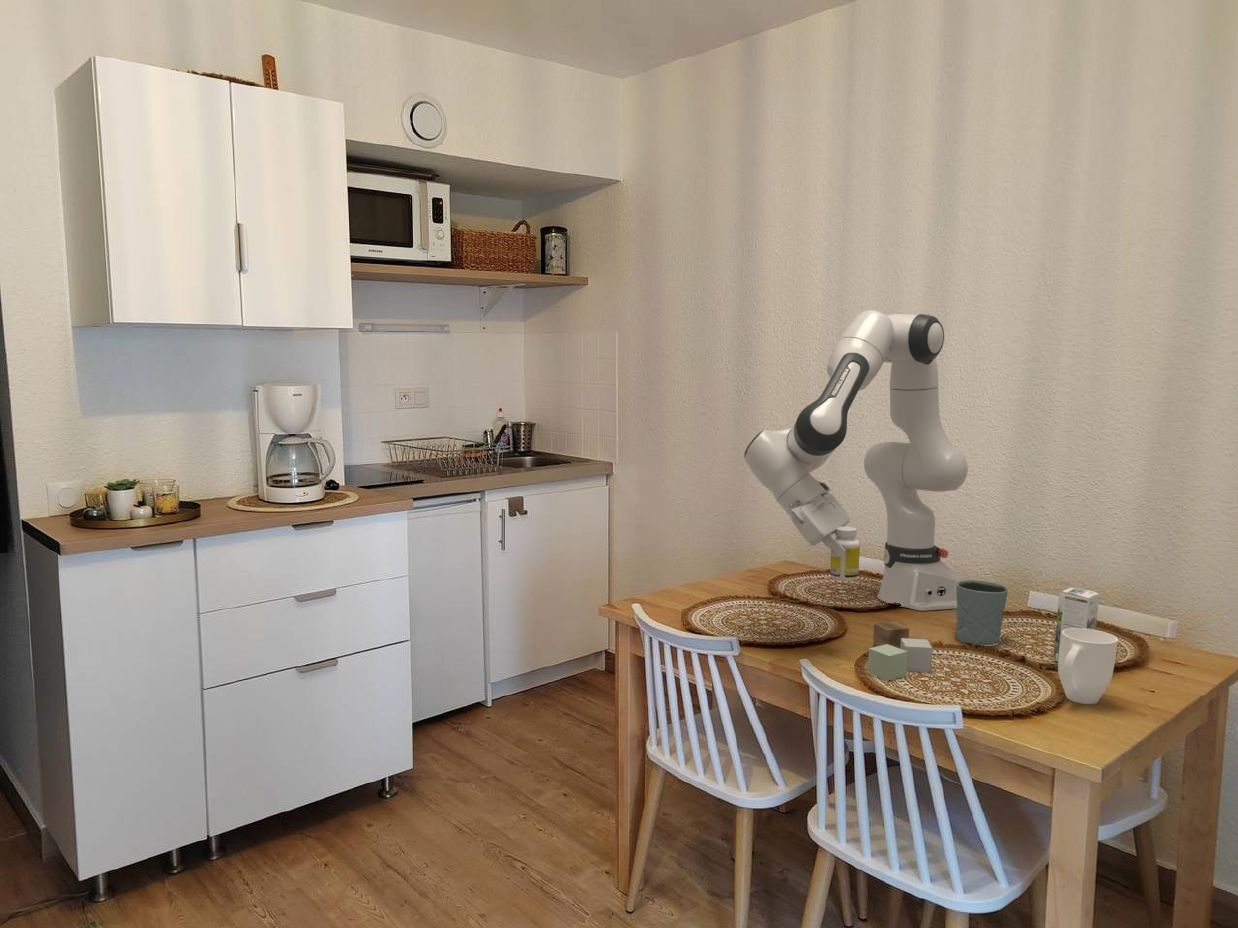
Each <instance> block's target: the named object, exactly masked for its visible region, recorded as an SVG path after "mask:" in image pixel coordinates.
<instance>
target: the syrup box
mask: <svg viewBox="0 0 1238 928" xmlns="http://www.w3.org/2000/svg"><path fill="white" fill-rule="evenodd" d="M1058 594H1059V595H1058V597H1059V598H1058V605H1057V614H1056V615H1057V617H1056V624H1055V625H1056V626H1055V627H1056V628H1055V638H1054V648H1053V649H1054V650H1053V659H1052V661H1053V660H1055V661H1058V660H1059V651H1060V644H1061V636H1062V631H1063V630H1065V629H1069V628H1086V629H1093V630H1097V623H1098V613H1099V611H1098V610H1099V602H1100V601H1099V599H1100V593H1099V592H1096V591H1093V590H1090V589H1089V590H1088V589H1084V588H1079V587H1069V588H1066V589H1064V590H1063V591H1061V592H1059V593H1058Z"/></svg>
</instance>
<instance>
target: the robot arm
mask: <svg viewBox="0 0 1238 928" xmlns="http://www.w3.org/2000/svg"><path fill="white" fill-rule="evenodd" d="M944 343H945V330H944V326H943V325H942V323H941V322H940V321H939V319H938V318H937V317H936V316H933V315H929V314H924V313H921V314H920V313H919V314H911V313H910V314H909V313H893V314H887V315H886V314H885V313H883V312H881V311H880V310H879V311H878V310H874V309H871V310H869V309H868V310H865V311H862V312H860V313H859V314H857V315H856V317H854V318H853V320H852V321H850V323H849V324H848V325H847V326H846V328H845V329H844V331H843V332H842V334H841V335H840V336H839V338H838V339H837V341H836V342H835V345H834V346H833V349H832V351H831V353H830V356H829V358H828V362H827V365H826V373H827V375H828V377H829V378H830V379H829V380H828V382H827V384H826V385H825V388H824V389H823V390H822V393H821V395H820V396H819V397H818V398H817V399H815V401H813V402H812V403H810V404H807V406H806V407H804V408H803V409H802V410H801V411H800V413H799V414H798V416H797V419H796V421H795V423H794V424H793V426H792V427H790V428H786V429H782V430H768V429H763V430H761V431H760V432H757V434H756V435H755V436H754V437H753V438H752V439H751V441H750V443H749V444H748V445H747V447H746V449H745V450H744V454H743V456H744V460H745V463H746V465H747V467H748V468H749V469H750V471H751V472H752V473H753V475H754V476H755V477H756V478H757V480H758V481H759V482H760V483H761V485H763V487H765V488H766V489H768V490H769V491H770V492H771V494H772V495H773V497H774V499H775V500H776V502H777V503H778V504H779V505H780V507H781V508H782V509H783V510H784V511H785V513H786V514H787V515H788V516H789V517H790V518H791V521H792V523H793V525H794V526H795V528H796V529H797V530H798V531H799V533H800V534H801V536H802V537H803V538H804V539H805V541H806V542H807V543H809V544H810V545H812V546H816V545H818V544H819V543H821V542H822V543H823V544H824V545H825V546H826V547H827V548H829V549H830V551H831V550H833V551H834V552H835V553H836V554H837V555H838V556H839V557H840V556H842V555H843V554H845V553H846V552H847V549H846V548H845V547H844V546H843V545H842V544H840V543H839V542H838V541H837V540H836V539H835V538H836V537H835V536H834V535H835V531H836V529H837V528H839V527H846V526H847V525H848V524H849V523H850V522H851V518H850V516H849V514H848V512H847V511H846V510H845V509H844V507H843V506H842V505H841V504H840V502H839V501H838V500H837V499H836V497H835V496H834V495H833V494H831V493H830V492H831V489H830V486H828V485H827V483H825V482H821V481H818V480H817V479H816V478H814V476H813V475H812V474H811V473H810V472H813V471H815V470H817V469H819V468H820V467H822V466H823V465H824V464H825V463H826V462H827V460H828V459H829V457H830V456H831V455H832V454H833V452H835V450H836V449H837V448H838V447H839V446H841V444H842V443H843V441H844V440H845V438H846V435H847V429H848V413H849V410H850V408H851V406H852V405H853V402H854V400H855V398H856V397H857V395H858V393H859V391H862V390H865V389H866V388H867V387H868V386H869V384H870V383H872V381H873V380H874V379H875V377H876V376H877V375H878V373H879V371H880V370H881V368H882V366H883V364H884V363H889V364H891V367H890V376H889V377H890V379H889V409H890V410H889V414H890V415H889V416H890V420H891V421H892V423H893V424H894V425H895V426H896V427H898V428H899V429H900V430H902V431H903V433H904V434H905V435H906V437H907V438H908V440H909V442H908V443H907V442H898V441H897V442H896V441H888V442H879V443H875V444H873V445H871V446H870V447H869V449H868V450H867V451H866V453H865V456H864V459H863V468H864V471H865V475H867V477H868V479H869V480H870V481H871V482H873V484H874V485H875V487H877V489H878V491H879V493H880V494H881V497H882V498H883V503H884V505H885V508H886V518H887V519H886V520H887V526H886V527H887V533H886V534H887V535H886V542H885V543H884V551H883V562H884V563H883V565H884V569H883V576H882V580H881V583H880V584H881V585H880V589H879V591H878V594H877V596H878V597H879V598H880V599H882V600H885V601H889V602H896V603H900V604H901V606H900V607H902V608H908V609H912V610H916V611H922V612H924V611H938V610H952V609H957V589H956V584H957V583H958V582H960V581H963V579H962V578H961V577H960V575H958V574H957V573H956V572H954V570H953V569H951V568H950V567H949V566H948V565H946V564H945V563H944V562H943V561H941V558H943V559H947V558H948V557H949V554H950V552H949V551H948V550H947V549H945V548H940V547H938V546H937V545H935V531H936V516H935V513H934V511H933V510H932V509H931V508H930V507H929V506H928V505H926V504H925V503H923V501H922V500H921V499H920V497H919V495H918V492H917V490H918V491H927V492H933V493H934V492H935V493H937V492H939V493H940V492H951V491H957V490H958V489H959V488H960V487H962V485H964V484H965V481H966V479H967V476H968V467H969V466H968V462H967V459H966V458H965V455H963V453H962V452H961V451H959V450H958V449H957V448H956V446H954V445H953V443H952V442H951V441H950V439H949V438H948V437H947V434H946V433H945V430H944V427H943V426H942V422H941V416H940V408H939V406H940V404H939V403H940V402H939V374H938V373H939V372H938V371H939V370H938V364H937V358H938V355H939V354H940V352H941V351H942V349H943V346H944ZM878 597H877V598H878Z"/></svg>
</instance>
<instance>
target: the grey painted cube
mask: <svg viewBox="0 0 1238 928" xmlns="http://www.w3.org/2000/svg"><path fill="white" fill-rule="evenodd" d="M900 649H902V650H905V651H908V653H907V672H913V671H914V672H919V673H932V664H933V662H932V660H933V646H932V645H931V644H930V642H929V640H928V639H925V638H923V639H922V638H920V639H919V638H909V639H906V638H901V647H900Z"/></svg>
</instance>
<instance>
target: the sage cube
mask: <svg viewBox="0 0 1238 928" xmlns="http://www.w3.org/2000/svg"><path fill="white" fill-rule="evenodd" d="M907 653H908V651H905V650H902V649H899V648H896V647H894V646H891V645H888V644H885V645H881V646H877V647H874V646H873V647H869V648H868V658H867V659H868V661H867V663H868V664H867V673H868V672H869V673H871V674H873V675H875V676H874V677H876V676H877V677H876V678H878V677H880V678H879V679H881V678H884V679H886V680H892V679H895V680H897V679H896V678H899V679H903V678H906V677H907V672H908V671H907ZM871 674H870V675H871ZM873 675H872V676H873ZM886 680H885V681H886ZM892 681H893V680H892Z"/></svg>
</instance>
